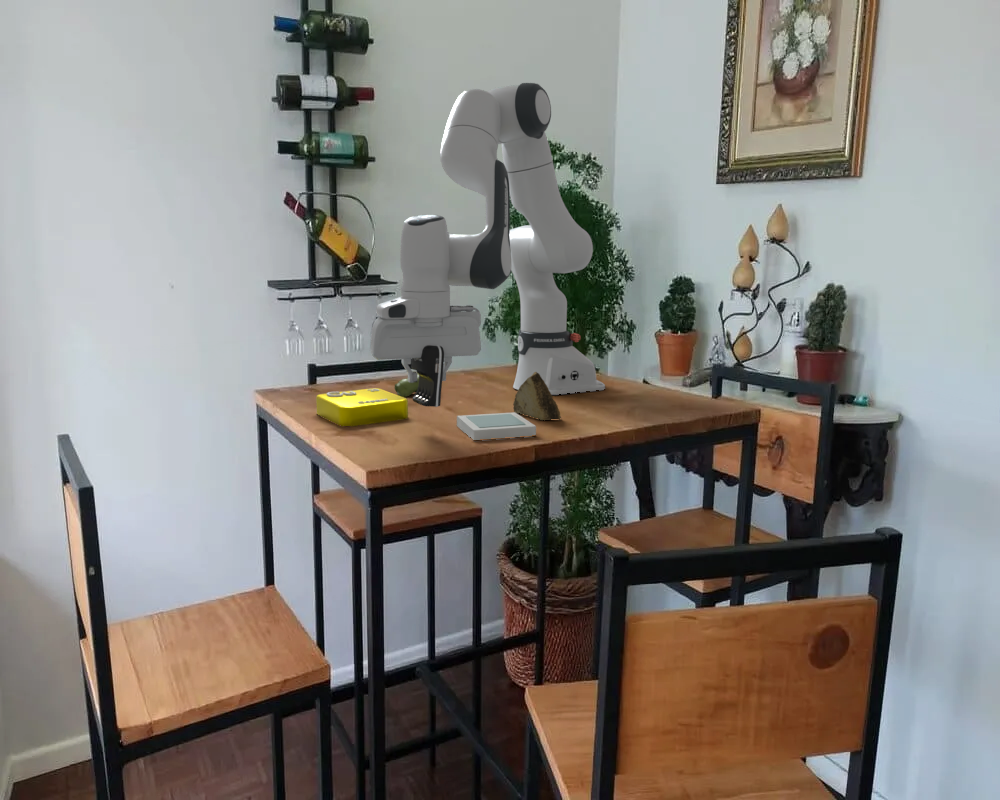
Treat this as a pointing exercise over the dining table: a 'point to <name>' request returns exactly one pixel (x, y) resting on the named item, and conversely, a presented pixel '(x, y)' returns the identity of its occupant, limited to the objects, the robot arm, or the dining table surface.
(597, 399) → the dining table surface
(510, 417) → the plate
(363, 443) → the dining table surface
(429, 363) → the battery charger
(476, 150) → the robot arm
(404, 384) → the pear
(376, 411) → the element tile
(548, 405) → the rock
